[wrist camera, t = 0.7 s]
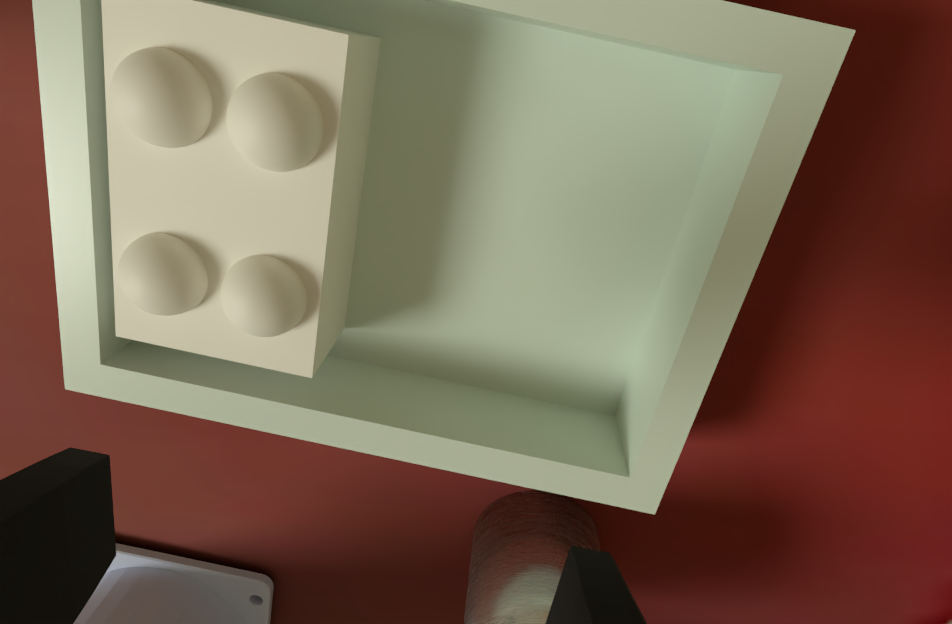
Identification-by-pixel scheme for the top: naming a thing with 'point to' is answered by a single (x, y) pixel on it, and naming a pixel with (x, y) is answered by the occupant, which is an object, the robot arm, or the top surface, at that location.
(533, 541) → the tin can
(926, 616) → the top surface
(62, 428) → the top surface
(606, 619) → the robot arm
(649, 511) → the tote
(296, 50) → the egg carton
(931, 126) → the top surface
